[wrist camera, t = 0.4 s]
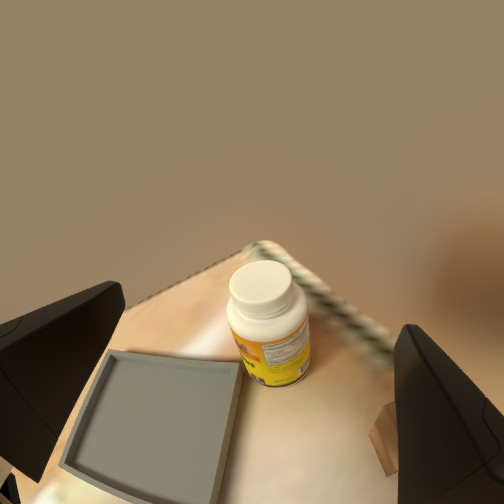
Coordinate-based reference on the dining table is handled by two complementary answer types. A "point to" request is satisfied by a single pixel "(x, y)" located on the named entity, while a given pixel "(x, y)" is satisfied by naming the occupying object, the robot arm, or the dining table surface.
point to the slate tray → (155, 428)
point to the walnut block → (386, 439)
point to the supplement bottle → (270, 323)
